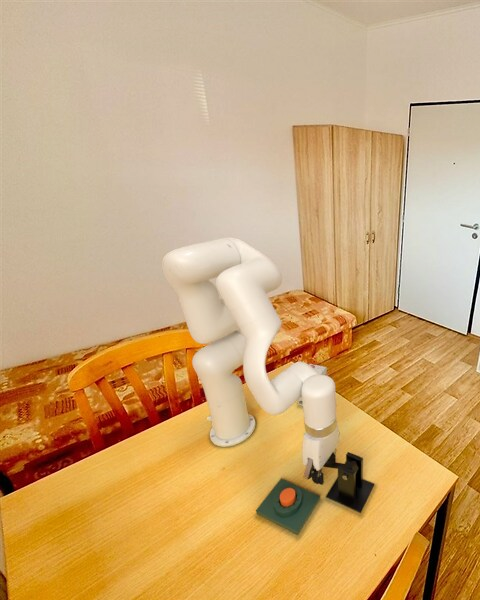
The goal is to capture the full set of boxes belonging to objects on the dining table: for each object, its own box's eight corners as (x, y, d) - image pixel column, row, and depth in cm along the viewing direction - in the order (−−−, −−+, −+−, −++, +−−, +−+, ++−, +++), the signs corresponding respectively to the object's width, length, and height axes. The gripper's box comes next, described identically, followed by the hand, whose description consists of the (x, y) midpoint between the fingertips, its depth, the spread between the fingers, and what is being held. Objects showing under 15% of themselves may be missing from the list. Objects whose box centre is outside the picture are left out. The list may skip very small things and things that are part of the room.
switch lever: (315, 474, 81) (312, 467, 80) (326, 458, 85) (323, 452, 85) (351, 480, 76) (348, 473, 76) (361, 463, 81) (358, 456, 80)
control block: (256, 515, 77) (254, 505, 75) (281, 483, 84) (280, 473, 83) (298, 537, 73) (296, 527, 71) (320, 501, 81) (319, 491, 79)
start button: (277, 503, 76) (276, 498, 75) (287, 490, 79) (286, 485, 78) (289, 509, 75) (288, 504, 74) (299, 495, 78) (298, 491, 77)
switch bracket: (326, 499, 81) (324, 468, 76) (342, 472, 88) (341, 443, 83) (360, 515, 78) (361, 484, 73) (374, 486, 85) (375, 456, 80)
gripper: (327, 395, 84) (329, 443, 92) (284, 444, 70) (291, 496, 78) (351, 403, 82) (352, 452, 90) (313, 456, 68) (317, 508, 76)
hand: (324, 472), depth 84 cm, fingers closed on switch lever, 5 cm apart
